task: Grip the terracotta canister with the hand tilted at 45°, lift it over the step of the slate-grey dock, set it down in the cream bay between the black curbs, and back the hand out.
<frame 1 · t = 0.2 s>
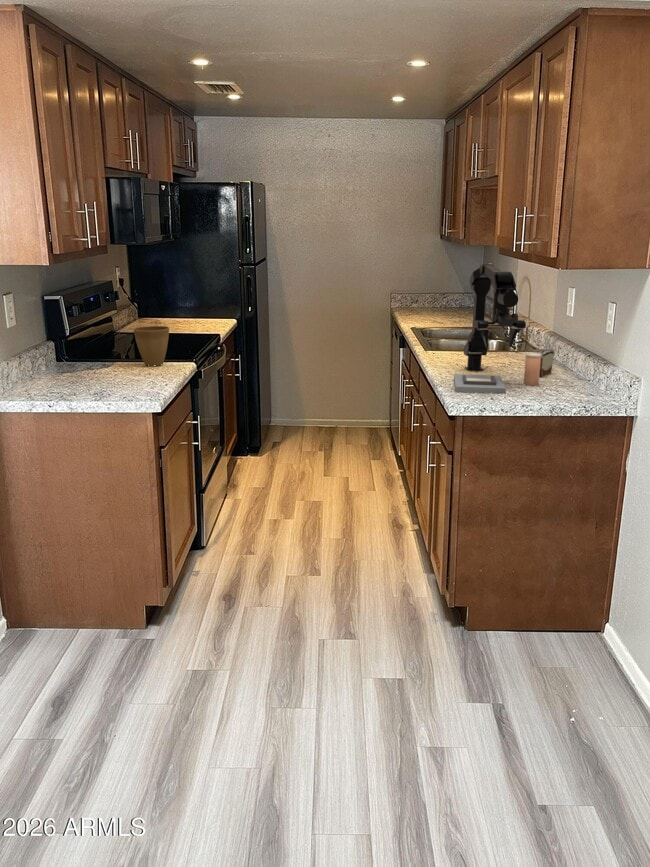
hand: (498, 346, 284), 14 cm above the worktop, tool pointing down, fingers open, 9 cm apart
dock: (478, 385, 285), on the worktop
terracotta canister: (530, 384, 287), on the worktop
plant pot: (153, 365, 321), on the worktop
food container: (539, 375, 306), on the worktop
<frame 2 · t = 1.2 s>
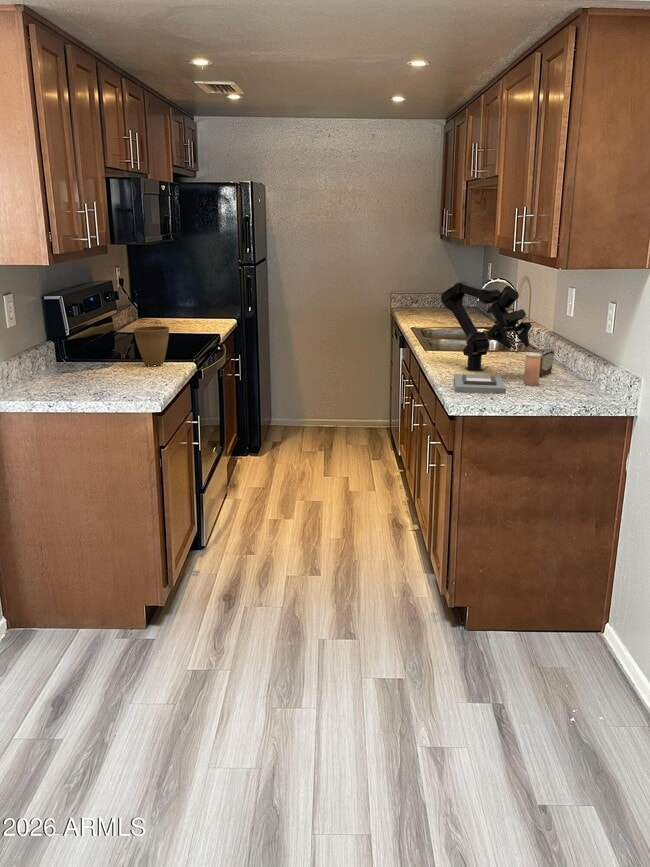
hand: (519, 347, 290), 13 cm above the worktop, tool tilted 45°, fingers open, 9 cm apart
nothing on the worktop moved.
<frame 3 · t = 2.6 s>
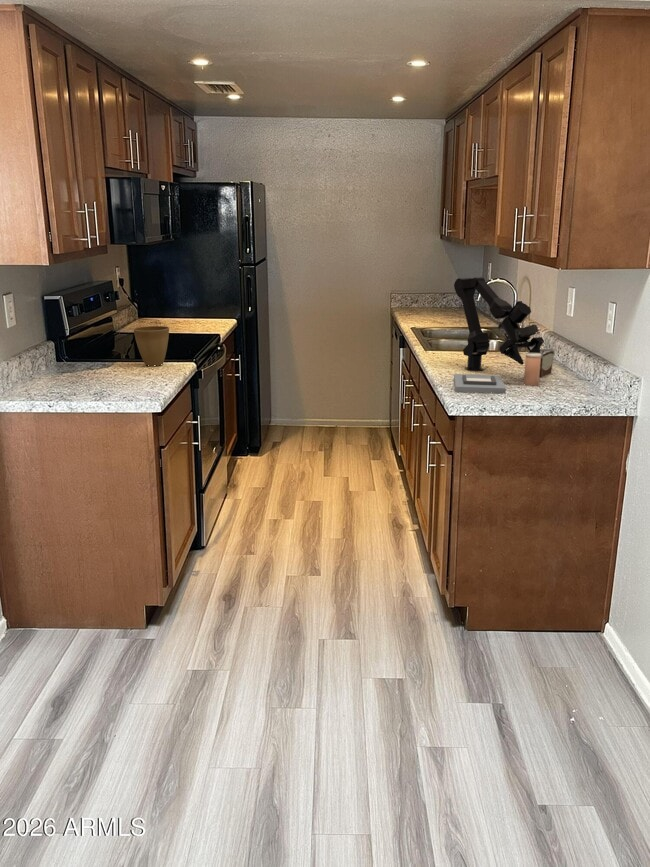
hand: (531, 363, 286), 8 cm above the worktop, tool tilted 45°, fingers open, 9 cm apart
nothing on the worktop moved.
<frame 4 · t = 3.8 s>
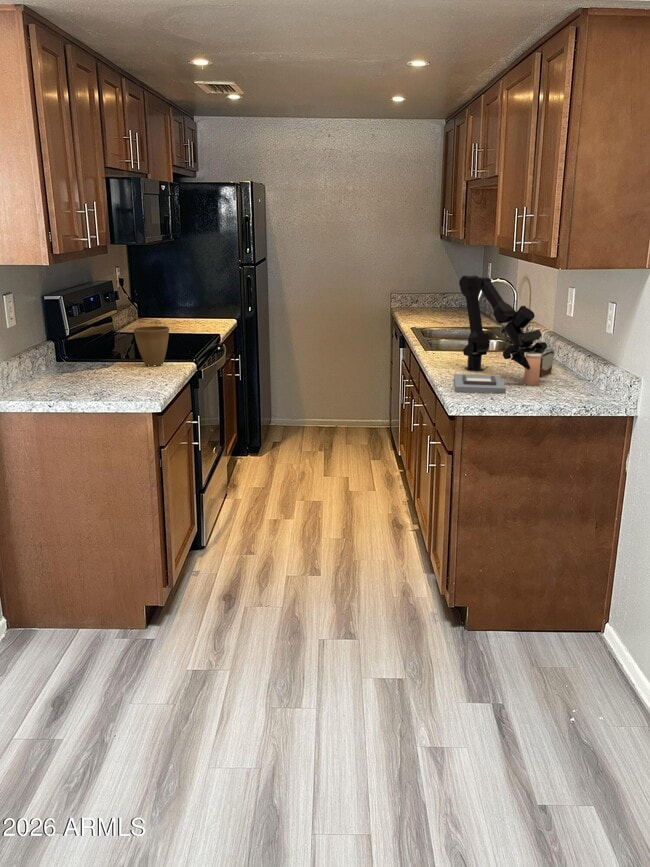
hand: (535, 368, 284), 7 cm above the worktop, tool tilted 45°, fingers closed on terracotta canister, 6 cm apart
terracotta canister: (530, 384, 287), on the worktop, touching gripper
everything else where it was.
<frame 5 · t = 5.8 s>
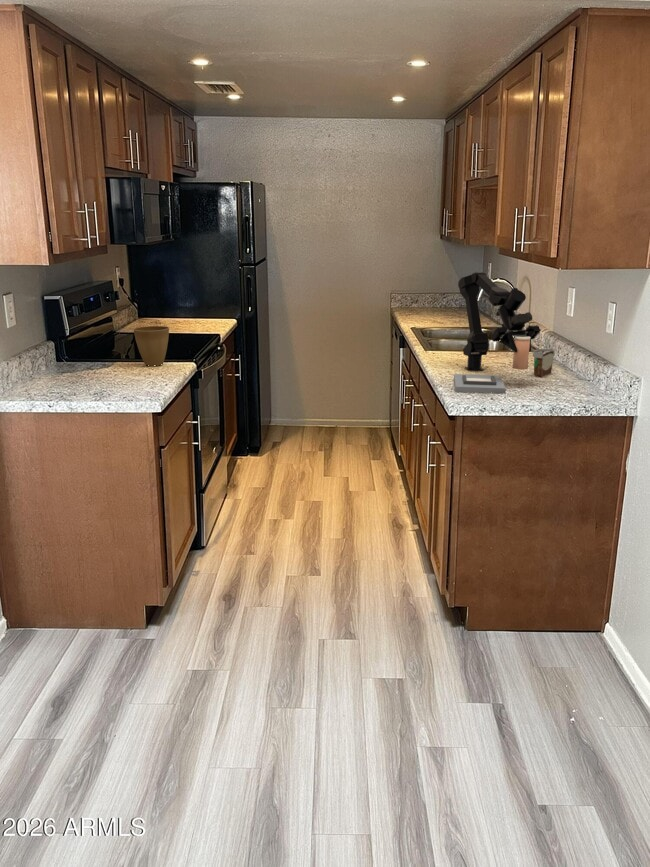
hand: (523, 351, 280), 13 cm above the worktop, tool tilted 45°, fingers closed on terracotta canister, 6 cm apart
terracotta canister: (520, 368, 283), point 7 cm above the worktop, touching gripper
everything else where it was.
when the fingers open (10 cm above the worktop, at t = 8.2 s): terracotta canister stays where it is, resting on dock.
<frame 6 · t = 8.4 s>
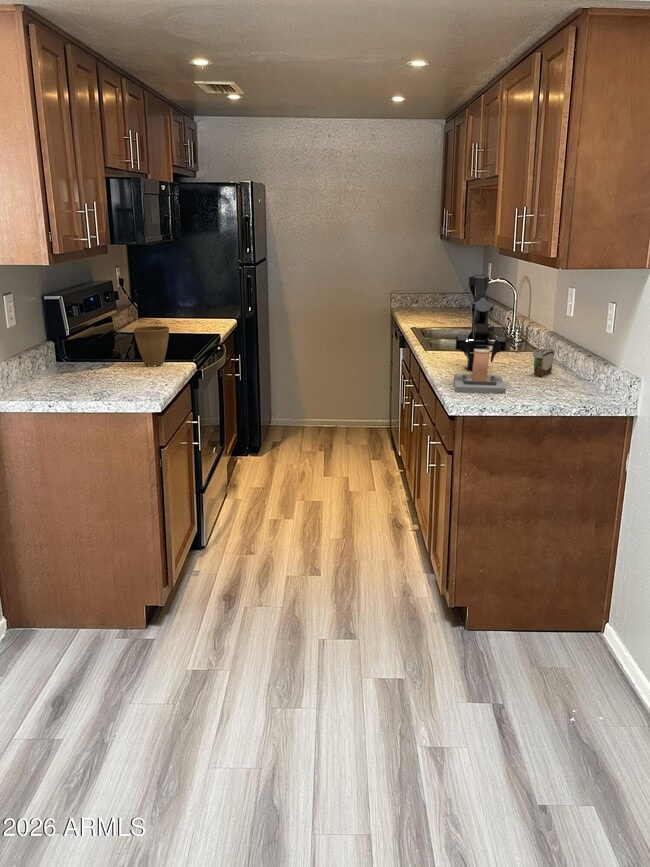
hand: (480, 361, 279), 10 cm above the worktop, tool tilted 45°, fingers open, 8 cm apart
terracotta canister: (479, 380, 283), point 2 cm above the worktop, touching dock
everything else where it was.
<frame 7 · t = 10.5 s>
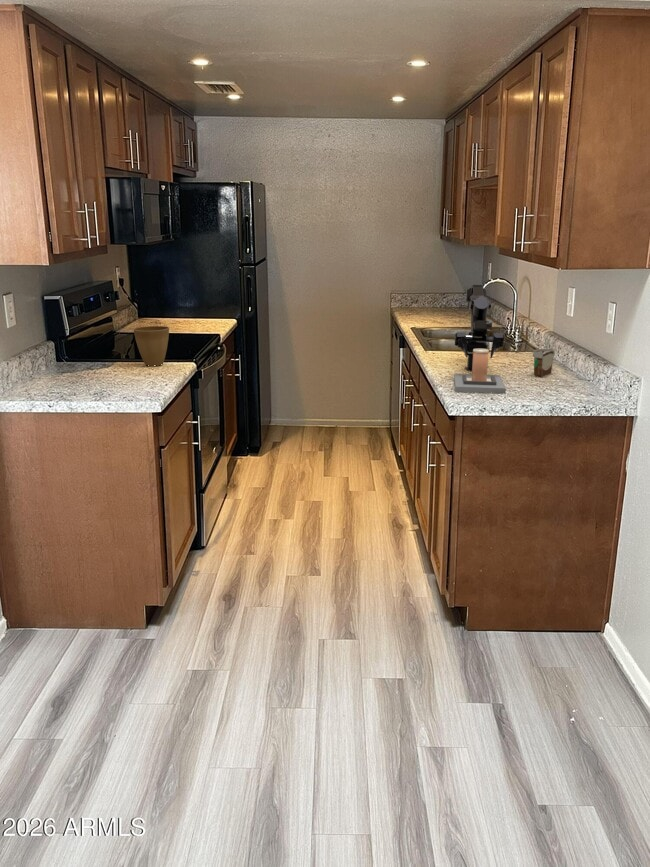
hand: (479, 357, 288), 10 cm above the worktop, tool tilted 45°, fingers open, 9 cm apart
nothing on the worktop moved.
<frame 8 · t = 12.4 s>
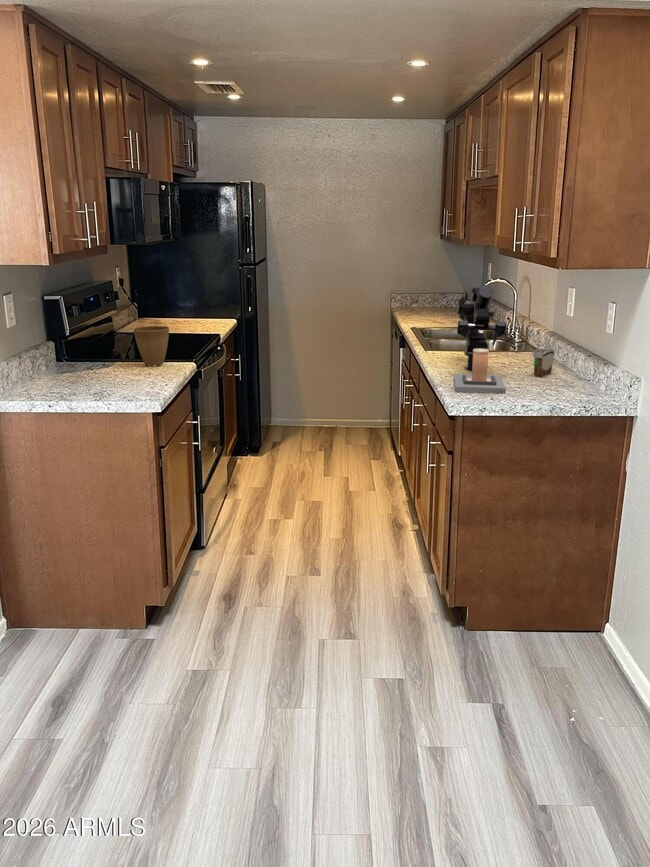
hand: (481, 345, 292), 14 cm above the worktop, tool tilted 45°, fingers open, 9 cm apart
nothing on the worktop moved.
at the end: terracotta canister inside the target area on the dock (0.2 cm from its centre), point 2.2 cm above the dock's base; terracotta canister tilted 0°; the gripper is holding nothing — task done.
